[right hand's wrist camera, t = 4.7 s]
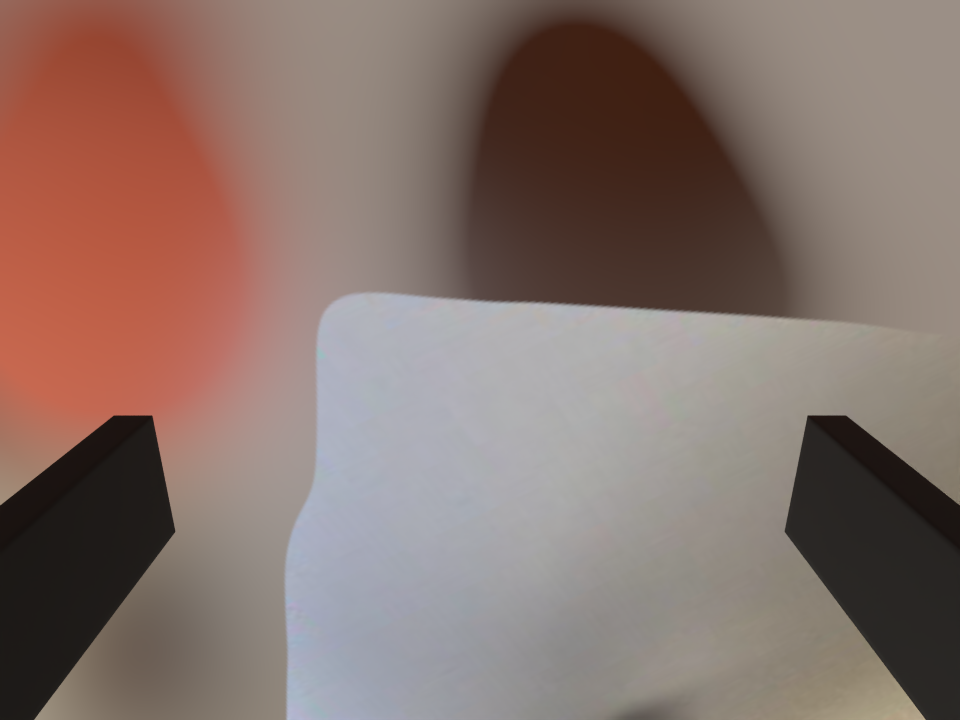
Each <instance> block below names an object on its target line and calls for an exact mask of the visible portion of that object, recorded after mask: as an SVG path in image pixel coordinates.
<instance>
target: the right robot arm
mask: <svg viewBox="0 0 960 720" xmlns="http://www.w3.org/2000/svg"><path fill="white" fill-rule="evenodd" d="M174 533H175V528H174V523H173V518H172V512H171V507H170V502H169V497H168V492H167V487H166V482H165V477H164V472H163V467H162V462H161V457H160V452H159V447H158V442H157V437H156V432H155V427H154V422H153V417H152V416H113V417H112V418H110V419H109V420H108V421H107V422H105V423H104V424H103V425H101V426H100V427H99V428H98V429H96V430H95V431H94V432H93V433H91V434H90V435H89V436H88V437H86V438H85V439H84V440H82V441H81V442H80V443H79V444H77V445H76V446H75V447H74V448H72V449H71V450H70V451H69V452H67V453H66V454H65V455H64V456H62V457H61V458H60V459H59V460H57V461H56V462H55V463H53V464H52V465H51V466H50V467H48V468H47V469H46V470H45V471H43V472H42V473H41V474H39V475H38V476H37V477H36V478H34V479H33V480H32V481H31V482H29V483H28V484H27V485H26V486H24V487H23V488H22V489H20V490H19V491H18V492H17V493H16V494H14V495H13V496H12V497H10V498H9V499H8V500H7V501H5V502H4V503H3V504H2V505H0V720H34V719H35V718H36V716H37V715H38V714H39V712H40V711H41V710H42V708H43V707H44V706H45V704H46V703H47V702H48V700H49V699H50V698H51V696H52V695H53V694H54V692H55V691H56V690H57V689H58V687H59V686H60V685H61V683H62V682H63V681H64V679H65V678H66V677H67V675H68V674H69V673H70V671H71V670H72V669H73V667H74V666H75V664H76V663H77V662H78V661H79V659H80V658H81V657H82V655H83V654H84V652H85V651H86V650H87V649H88V647H89V646H90V645H91V643H92V642H93V641H94V639H95V638H96V637H97V635H98V634H99V633H100V631H101V630H102V629H103V627H104V626H105V625H106V623H107V622H108V621H109V619H110V618H111V617H112V615H113V614H114V613H115V611H116V610H117V609H118V607H119V606H120V605H121V603H122V602H123V601H124V599H125V598H126V597H127V595H128V594H129V593H130V591H131V590H132V589H133V587H134V586H135V585H136V583H137V582H138V581H139V579H140V578H141V577H142V575H143V574H144V573H145V571H146V570H147V569H148V567H149V566H150V565H151V563H152V562H153V561H154V559H155V558H156V557H157V555H158V554H159V553H160V551H161V550H162V549H163V547H164V546H165V545H166V543H167V542H168V541H169V539H170V538H171V537H172V535H173V534H174ZM785 533H786V534H787V535H788V537H789V538H790V539H791V541H792V542H793V543H794V545H795V546H796V547H797V549H798V550H799V551H800V553H801V554H802V555H803V557H804V558H805V559H806V561H807V562H808V563H809V565H810V566H811V567H812V569H813V570H814V571H815V573H816V574H817V575H818V577H819V578H820V579H821V581H822V582H823V583H824V585H825V586H826V587H827V589H828V590H829V591H830V593H831V594H832V595H833V597H834V598H835V599H836V601H837V602H838V603H839V605H840V606H841V607H842V609H843V610H844V611H845V613H846V614H847V615H848V617H849V618H850V619H851V621H852V622H853V623H854V625H855V626H856V627H857V629H858V630H859V631H860V633H861V634H862V635H863V637H864V638H865V639H866V641H867V642H868V643H869V645H870V646H871V647H872V649H873V650H874V651H875V653H876V654H877V655H878V657H879V658H880V659H881V661H882V662H883V663H884V665H885V666H886V667H887V669H888V670H889V671H890V673H891V674H892V675H893V677H894V678H895V679H896V681H897V682H898V683H899V685H900V686H901V687H902V689H903V690H904V691H905V692H906V694H907V695H908V696H909V698H910V699H911V700H912V702H913V703H914V704H915V706H916V707H917V708H918V710H919V711H920V712H921V714H922V715H923V716H924V718H925V719H926V720H960V505H958V504H957V503H956V502H955V501H953V500H952V499H951V498H950V497H948V496H947V495H946V494H945V493H943V492H942V491H941V490H940V489H938V488H937V487H936V486H934V485H933V484H932V483H931V482H929V481H928V480H927V479H926V478H924V477H923V476H922V475H921V474H919V473H918V472H917V471H915V470H914V469H913V468H912V467H910V466H909V465H908V464H907V463H905V462H904V461H903V460H902V459H900V458H899V457H898V456H896V455H895V454H894V453H893V452H891V451H890V450H889V449H888V448H886V447H885V446H884V445H883V444H881V443H880V442H879V441H878V440H876V439H875V438H874V437H872V436H871V435H870V434H869V433H867V432H866V431H865V430H864V429H862V428H861V427H860V426H859V425H857V424H856V423H855V422H853V421H852V420H851V419H850V418H848V417H847V416H808V417H807V422H806V427H805V432H804V437H803V442H802V447H801V452H800V457H799V462H798V467H797V472H796V477H795V482H794V487H793V492H792V497H791V502H790V507H789V512H788V517H787V522H786V528H785Z"/></svg>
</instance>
